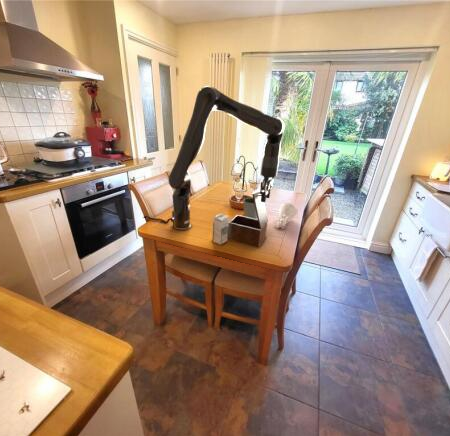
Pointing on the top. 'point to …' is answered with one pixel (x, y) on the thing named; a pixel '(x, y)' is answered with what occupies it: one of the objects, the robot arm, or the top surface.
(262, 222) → the case lid
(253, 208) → the grey cup
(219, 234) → the syrup box
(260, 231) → the case
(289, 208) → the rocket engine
